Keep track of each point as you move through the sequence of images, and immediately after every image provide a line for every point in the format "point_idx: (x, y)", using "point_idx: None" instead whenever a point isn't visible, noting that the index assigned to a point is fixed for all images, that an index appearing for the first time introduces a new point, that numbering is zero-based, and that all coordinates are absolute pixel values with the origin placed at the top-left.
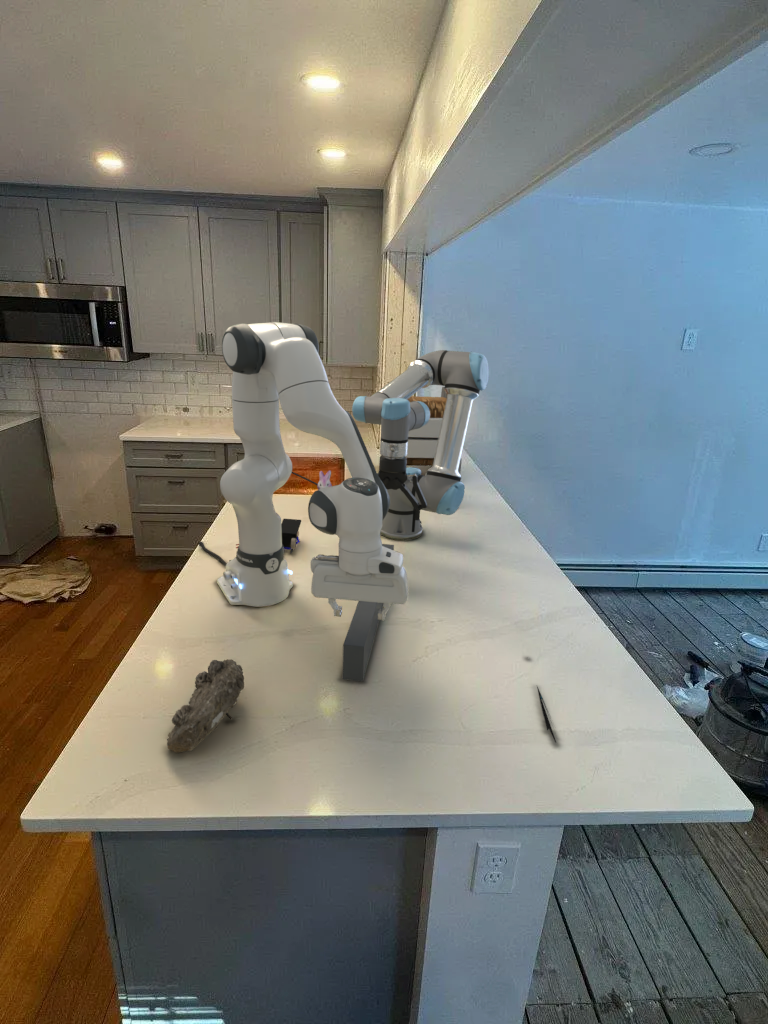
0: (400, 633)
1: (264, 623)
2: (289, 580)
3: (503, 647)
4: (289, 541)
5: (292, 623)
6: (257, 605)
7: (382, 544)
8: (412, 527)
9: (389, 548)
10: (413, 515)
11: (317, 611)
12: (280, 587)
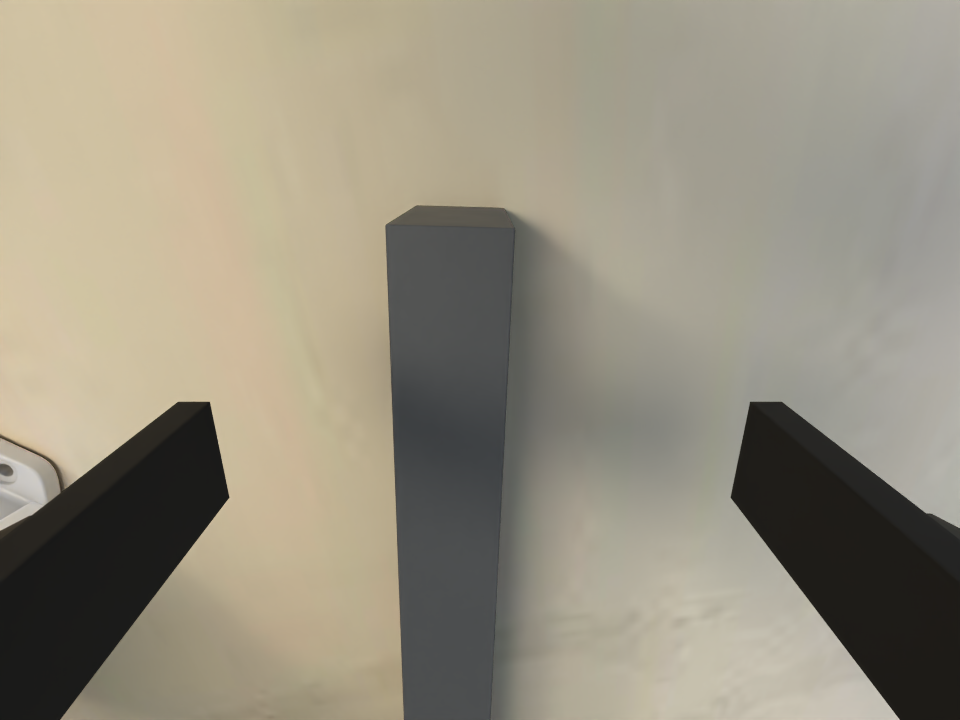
0: (564, 692)
1: (112, 701)
2: (14, 461)
3: (891, 711)
4: None
5: (199, 690)
6: None
7: (417, 242)
8: (763, 532)
9: (485, 314)
10: (880, 677)
11: (250, 621)
12: None
